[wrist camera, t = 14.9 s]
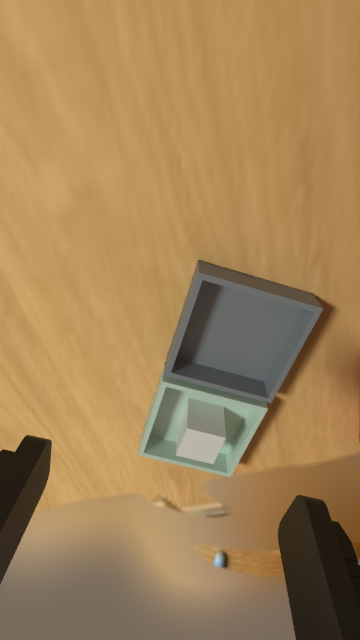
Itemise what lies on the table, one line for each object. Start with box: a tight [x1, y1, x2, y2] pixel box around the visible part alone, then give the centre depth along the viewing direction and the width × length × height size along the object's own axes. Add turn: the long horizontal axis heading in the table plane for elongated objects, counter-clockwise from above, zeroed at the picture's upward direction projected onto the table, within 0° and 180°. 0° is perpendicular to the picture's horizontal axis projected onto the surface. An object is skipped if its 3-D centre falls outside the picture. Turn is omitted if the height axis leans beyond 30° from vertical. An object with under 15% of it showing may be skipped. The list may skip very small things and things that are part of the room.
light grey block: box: [176, 397, 226, 464], centre depth 40 cm, size 4×4×5 cm
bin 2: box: [138, 363, 268, 477], centre depth 42 cm, size 12×12×4 cm
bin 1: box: [164, 260, 323, 403], centre depth 35 cm, size 12×12×4 cm
